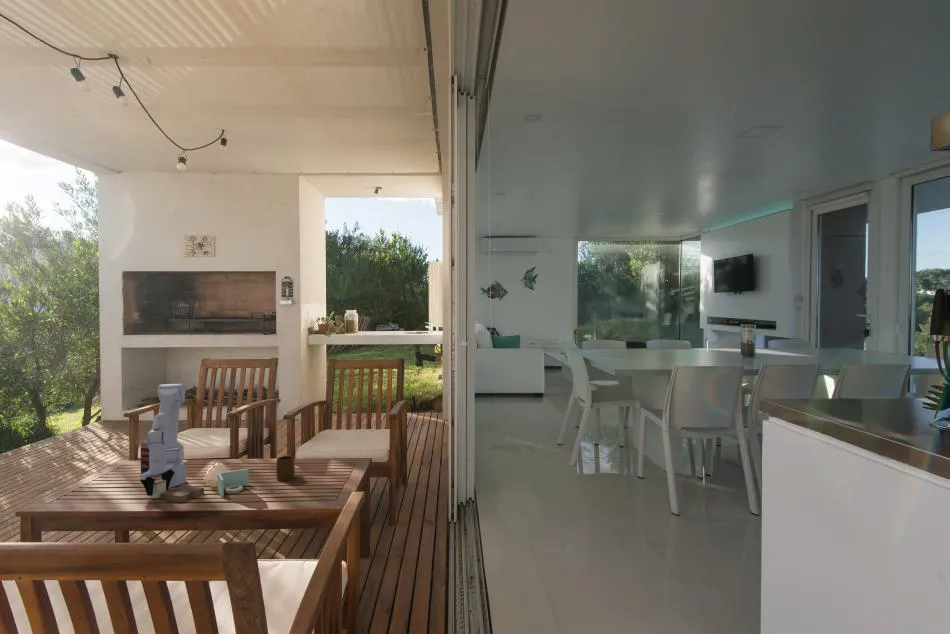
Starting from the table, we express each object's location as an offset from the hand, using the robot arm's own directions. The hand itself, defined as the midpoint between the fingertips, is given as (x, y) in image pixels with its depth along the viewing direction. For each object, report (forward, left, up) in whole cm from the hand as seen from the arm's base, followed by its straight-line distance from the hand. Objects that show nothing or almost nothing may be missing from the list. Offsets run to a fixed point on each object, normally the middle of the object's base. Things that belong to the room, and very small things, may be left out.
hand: (157, 492), depth 214 cm
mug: (-38, +33, -2) cm, 50 cm away
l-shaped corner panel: (-16, +25, -3) cm, 30 cm away
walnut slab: (-3, +10, -2) cm, 11 cm away
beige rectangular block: (0, 0, -2) cm, 2 cm away
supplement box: (-21, -30, -2) cm, 37 cm away
